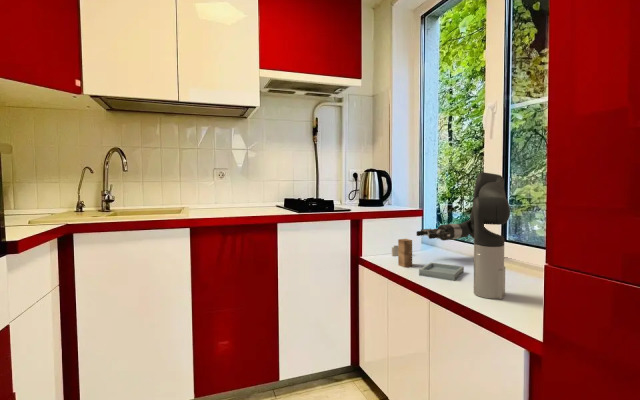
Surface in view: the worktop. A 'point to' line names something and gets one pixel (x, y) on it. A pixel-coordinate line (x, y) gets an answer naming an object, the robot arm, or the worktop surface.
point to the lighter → (395, 250)
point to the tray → (441, 271)
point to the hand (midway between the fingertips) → (422, 235)
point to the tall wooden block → (405, 252)
